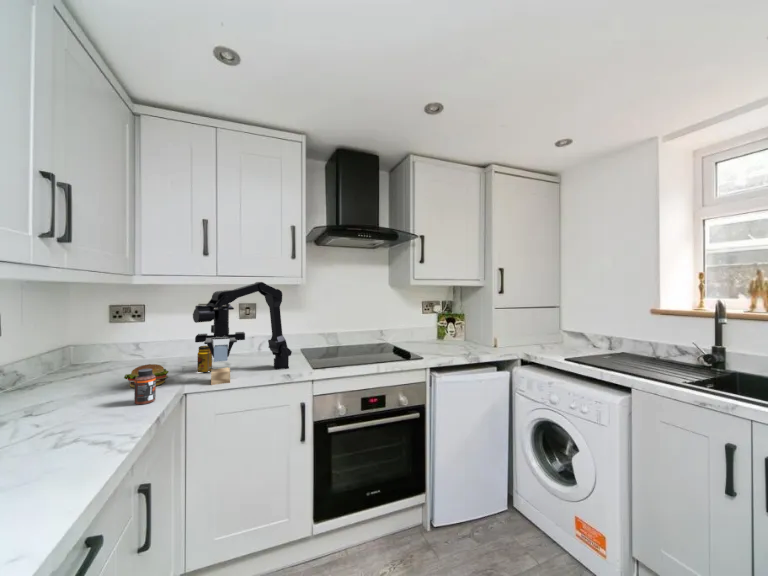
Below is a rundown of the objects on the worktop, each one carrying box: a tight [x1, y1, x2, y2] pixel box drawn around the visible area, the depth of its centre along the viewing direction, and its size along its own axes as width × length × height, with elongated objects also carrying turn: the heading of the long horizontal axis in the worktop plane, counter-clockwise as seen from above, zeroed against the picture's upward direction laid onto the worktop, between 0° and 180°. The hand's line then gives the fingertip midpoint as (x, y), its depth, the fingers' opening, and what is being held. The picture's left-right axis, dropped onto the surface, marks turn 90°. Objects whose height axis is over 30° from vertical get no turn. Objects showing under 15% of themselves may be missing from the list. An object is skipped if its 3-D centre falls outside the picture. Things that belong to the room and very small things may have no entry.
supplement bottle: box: [133, 369, 157, 406], centre depth 112 cm, size 6×6×11 cm
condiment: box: [196, 345, 213, 372], centre depth 153 cm, size 7×8×12 cm
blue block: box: [213, 344, 229, 363], centre depth 136 cm, size 5×5×6 cm
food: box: [123, 363, 169, 389], centre depth 132 cm, size 14×14×8 cm
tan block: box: [210, 367, 231, 386], centre depth 136 cm, size 7×7×5 cm
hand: (221, 357), depth 136 cm, fingers closed on blue block, 5 cm apart
